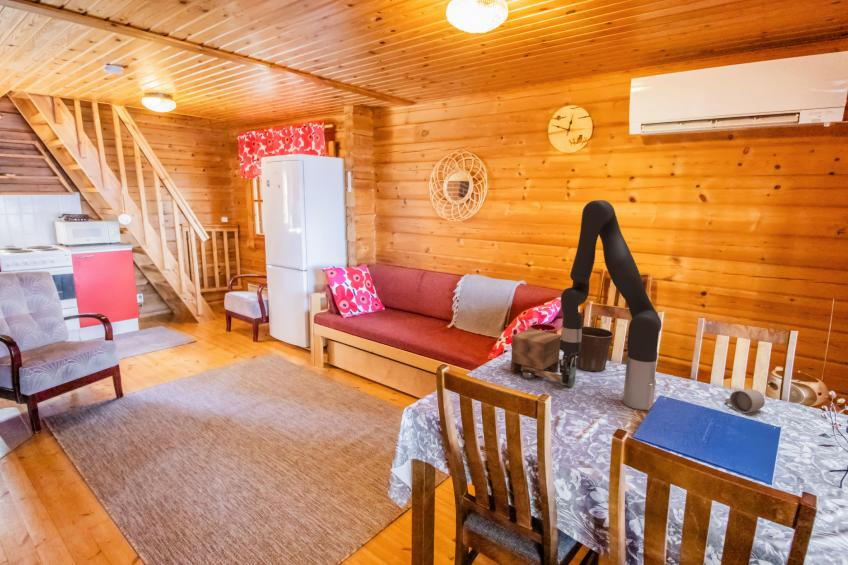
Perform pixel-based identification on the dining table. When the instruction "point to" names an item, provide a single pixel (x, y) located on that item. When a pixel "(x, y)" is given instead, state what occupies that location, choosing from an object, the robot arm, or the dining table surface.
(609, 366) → the dining table surface
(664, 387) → the dining table surface
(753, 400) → the ceramic mug
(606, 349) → the plant pot
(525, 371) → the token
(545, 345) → the bread box
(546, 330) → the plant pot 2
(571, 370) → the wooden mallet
